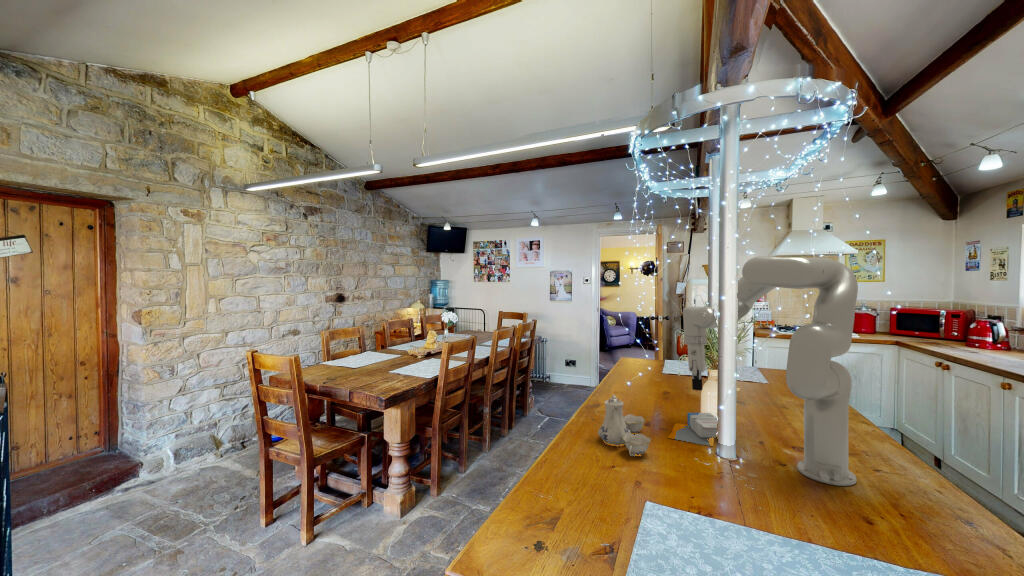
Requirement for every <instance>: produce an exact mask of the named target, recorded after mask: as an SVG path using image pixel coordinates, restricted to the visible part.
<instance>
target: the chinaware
mask: <svg viewBox="0 0 1024 576" xmlns="http://www.w3.org/2000/svg"><path fill="white" fill-rule="evenodd" d="M604 404H605V405H604V406H605V416H604V419H603V423H602V424H601V426H600V427H599V429H598V431H597V434H598V436H599V437H600V438H601V441H602V440H604V441H605V442H606V443H609V444H615V445H620V444H625V447H626V449H627V450H628V451H629V455H630V457H633V456H634V457H635V454H637V455H639V454H642V455H643V454H644V453H646V452H647V450H648V448H649V444H650V443H651V442H652V438H650V437H647V436H646V435H645V434H644V433H639V432H640V431H641V430H642V429H643V427H644V424H645V423H646V420H645V418H644V417H643V416H640V415H638V416H636V415H634V414H630V413H629V414H626V415H625V416H624V414H623V409H624V405H625V403H624V402H623V401H622V400H620V399H619V398H618V397H617V396H616V395H615V394H612V396H611V397H609V399H606V400H605V401H604ZM631 433H637V434H635V435H634V434H631Z"/></svg>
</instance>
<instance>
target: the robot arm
mask: <svg viewBox="0 0 1024 576" xmlns="http://www.w3.org/2000/svg"><path fill="white" fill-rule="evenodd" d="M741 274H742V275H741V276H742V277H740V278H739V279H737V281H738V293H737V298H738V321H741V319H742V318H744V317H745V316H747V315H748V313H749V312H750V311H751V310H752V308H753V307H754V305H755V303H757V301H760V299H762V298H763V297H764V296H765V295H768V293H771V291H773V290H774V289H775V288H783V289H792V290H793V289H795V290H804V289H805V290H807V289H808V290H809V289H817V290H818V291H819V292H818V295H817V297H816V300H815V302H814V305H813V316H812V320H811V323H806V324H804V325H800V326H799V327H798V328H796V329H795V331H793V333H792V335H791V337H790V340H789V344H788V345H789V346H788V352H787V361H786V369H785V370H786V372H785V379H786V380H785V381H786V385H787V388H788V389H789V390H790V392H791V393H792V394H793V395H794V396H795V397H797V398H799V399H801V400H804V401H803V402H804V403H803V460H800V461H798V462H797V470H798V471H799V473H800V474H802V475H804V476H805V477H807V478H810V479H812V480H813V481H816V482H820V483H823V484H827V485H833V486H837V487H838V486H840V487H841V486H842V487H847V486H848V487H849V486H854V485H855V484H856V483H857V476H856V474H855V473H853V472H852V471H851V470H849V410H850V409H849V406H850V397H851V393H852V385H853V380H852V376H851V374H850V372H849V370H848V369H847V368H846V367H845V366H844V365H843V364H842V363H840V362H837V361H836V360H832V358H836V357H841V356H842V355H845V354H847V353H848V352H849V351H850V348H851V346H852V338H853V331H854V324H855V316H856V315H855V313H856V305H857V299H858V292H859V289H858V288H859V284H858V280H857V277H856V275H855V274H854V272H853V271H852V270H851V269H850V267H848V266H847V265H845V264H843V263H842V262H841V261H837V260H834V259H833V258H832V259H831V258H826V257H779V256H770V255H769V256H754V257H752V258H749V259H748V260H747V261H746V262H745V263H744V264H743V266H742V269H741ZM682 316H683V320H682V321H683V340H684V342H683V343H684V345H687V361H688V364H687V365H688V371H689V372H690V373H691V377H692V378H691V382H692V383H691V389H692V390H693V391H703V379H702V373H704V372H705V371H706V370H707V365H706V351H705V346H706V345H708V343H707V342H708V341H707V340H708V339H707V329H714V328H715V329H717V328H718V327H717V323H716V318H715V316H714V313H713V309H712V306H705V307H702V306H687V307H685V308H683V310H682Z"/></svg>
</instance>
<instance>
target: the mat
mask: <svg viewBox="0 0 1024 576" xmlns="http://www.w3.org/2000/svg"><path fill="white" fill-rule="evenodd" d="M684 427H685V428H682V429H679V431H678V430H677V431H676V436H675V439H676V440H675V441H678V440H681V441H680V442H683V441H686V442H685V443H688V442H691V443H690V444H694V443H695V444H694V445H699V444H700V446H704V445H708V446H707V447H710V444H709V441H708V440H709V438H703V437H699V436H698V435H697V434H696V433H695V432H694V431H693V430H692V429H691V428H690V427H688V426H687V425H686V426H684ZM707 439H708V440H707Z"/></svg>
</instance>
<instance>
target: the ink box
mask: <svg viewBox="0 0 1024 576" xmlns="http://www.w3.org/2000/svg"><path fill="white" fill-rule="evenodd" d="M686 414H687V416H686V417H687V424H688V426H689V427H690V428H691V429H692V430H693V431H694V432H695V433H696V434H697V435H698V436H699V437H703V438H712V437H713V438H714V437H715V439H717V438H716V433H717V419H718V418H717V417H716V416H715V415H714V414H712V413H711V412H687V413H686Z"/></svg>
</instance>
